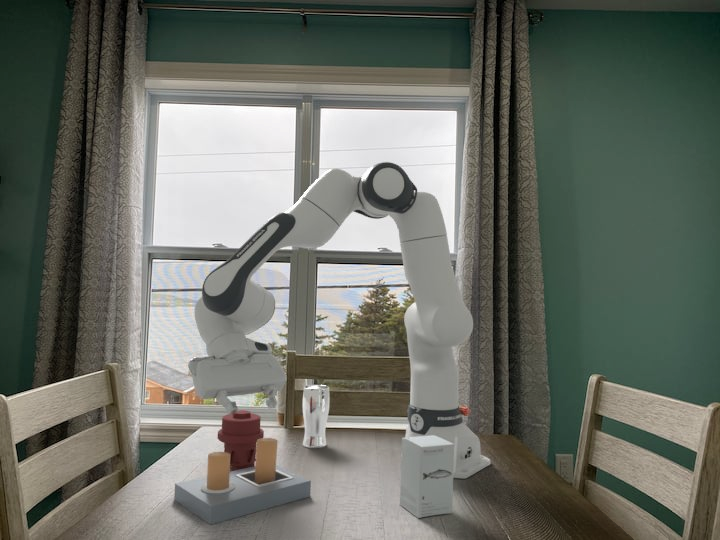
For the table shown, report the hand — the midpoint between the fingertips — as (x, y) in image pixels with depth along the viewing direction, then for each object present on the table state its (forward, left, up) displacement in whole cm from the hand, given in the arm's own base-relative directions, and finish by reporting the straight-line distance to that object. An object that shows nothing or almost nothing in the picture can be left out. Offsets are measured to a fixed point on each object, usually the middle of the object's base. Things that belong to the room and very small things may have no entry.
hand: (253, 409), depth 111 cm
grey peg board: (+5, +5, -15) cm, 17 cm away
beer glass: (-29, -16, -16) cm, 37 cm away
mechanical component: (-4, -11, -16) cm, 20 cm away
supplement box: (-19, +30, -16) cm, 39 cm away
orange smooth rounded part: (0, +5, -14) cm, 15 cm away
